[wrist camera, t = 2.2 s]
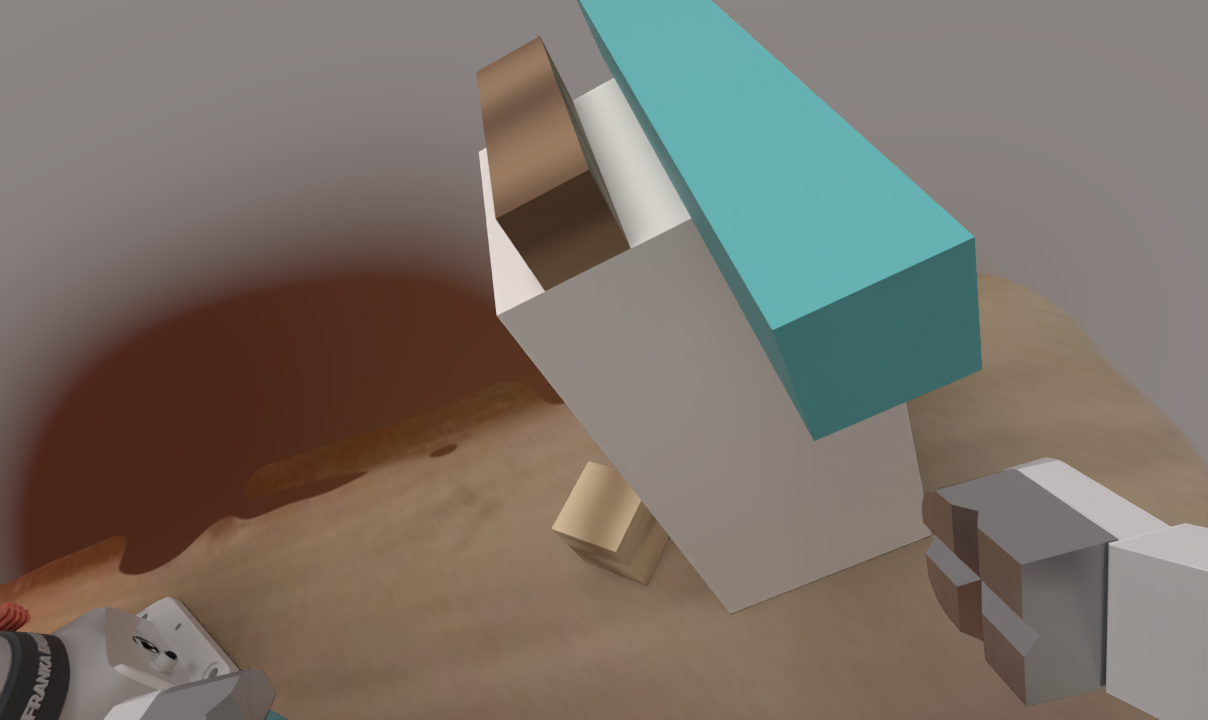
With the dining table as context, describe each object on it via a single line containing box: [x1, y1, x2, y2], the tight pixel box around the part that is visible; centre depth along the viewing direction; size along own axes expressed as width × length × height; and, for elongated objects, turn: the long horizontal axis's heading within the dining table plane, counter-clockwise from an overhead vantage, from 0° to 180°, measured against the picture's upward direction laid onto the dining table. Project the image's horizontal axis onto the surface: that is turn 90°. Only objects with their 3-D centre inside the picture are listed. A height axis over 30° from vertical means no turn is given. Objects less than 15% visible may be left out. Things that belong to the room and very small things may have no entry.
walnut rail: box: [477, 36, 631, 291], centre depth 24 cm, size 12×3×3 cm, turn 14°
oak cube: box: [552, 461, 670, 586], centre depth 43 cm, size 5×5×5 cm
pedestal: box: [479, 78, 931, 614], centre depth 33 cm, size 12×12×26 cm
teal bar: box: [577, 0, 982, 441], centre depth 21 cm, size 24×4×4 cm, turn 14°
